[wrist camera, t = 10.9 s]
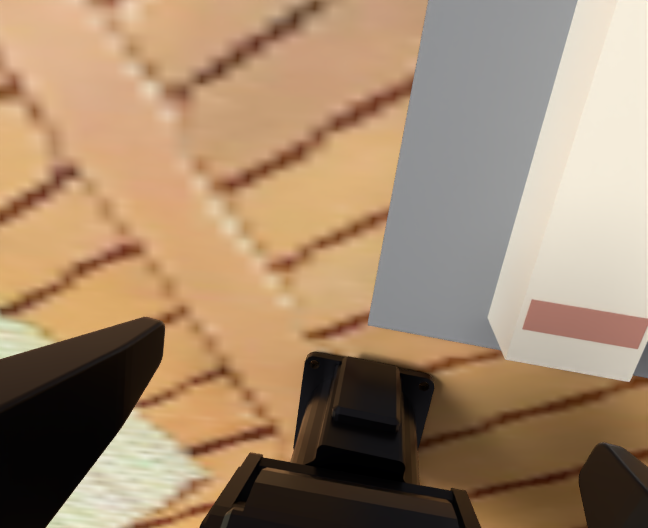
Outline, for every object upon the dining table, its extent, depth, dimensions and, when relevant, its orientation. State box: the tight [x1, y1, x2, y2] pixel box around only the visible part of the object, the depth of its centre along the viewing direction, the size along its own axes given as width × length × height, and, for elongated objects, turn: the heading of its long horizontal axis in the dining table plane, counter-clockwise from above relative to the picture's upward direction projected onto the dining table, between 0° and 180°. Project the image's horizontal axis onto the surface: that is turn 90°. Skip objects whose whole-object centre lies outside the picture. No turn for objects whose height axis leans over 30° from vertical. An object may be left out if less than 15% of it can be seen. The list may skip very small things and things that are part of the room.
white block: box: [488, 0, 648, 382], centre depth 16 cm, size 14×4×4 cm, turn 173°
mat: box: [368, 0, 648, 378], centre depth 18 cm, size 17×13×1 cm
